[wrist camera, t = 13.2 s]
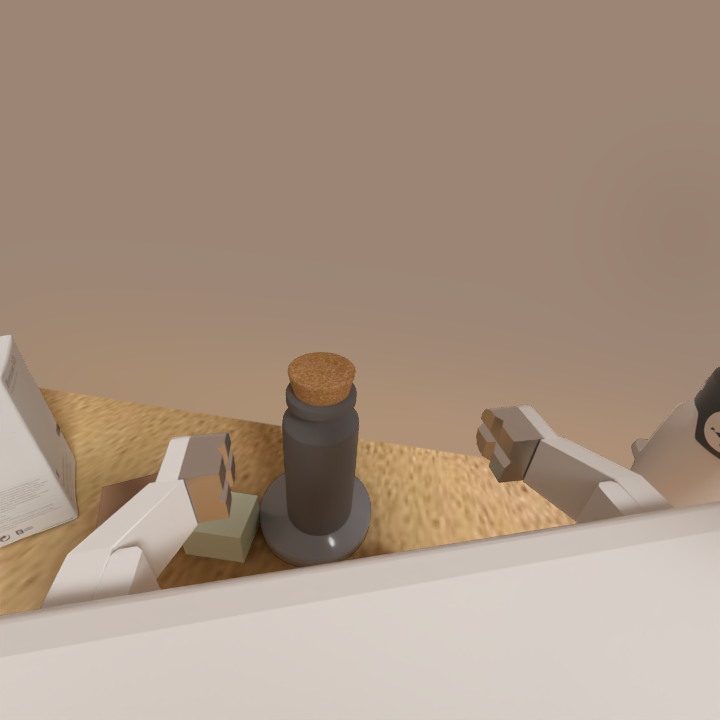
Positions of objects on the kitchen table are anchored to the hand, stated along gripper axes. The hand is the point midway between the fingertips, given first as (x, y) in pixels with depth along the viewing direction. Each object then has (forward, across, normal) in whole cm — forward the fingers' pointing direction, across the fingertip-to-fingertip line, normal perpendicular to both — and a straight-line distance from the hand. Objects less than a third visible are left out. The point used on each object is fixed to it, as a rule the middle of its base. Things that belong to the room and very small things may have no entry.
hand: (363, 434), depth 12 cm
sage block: (+12, +9, +22) cm, 27 cm away
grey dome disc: (+13, +1, +22) cm, 26 cm away
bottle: (+13, +1, +21) cm, 25 cm away
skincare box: (+18, +26, +22) cm, 38 cm away
